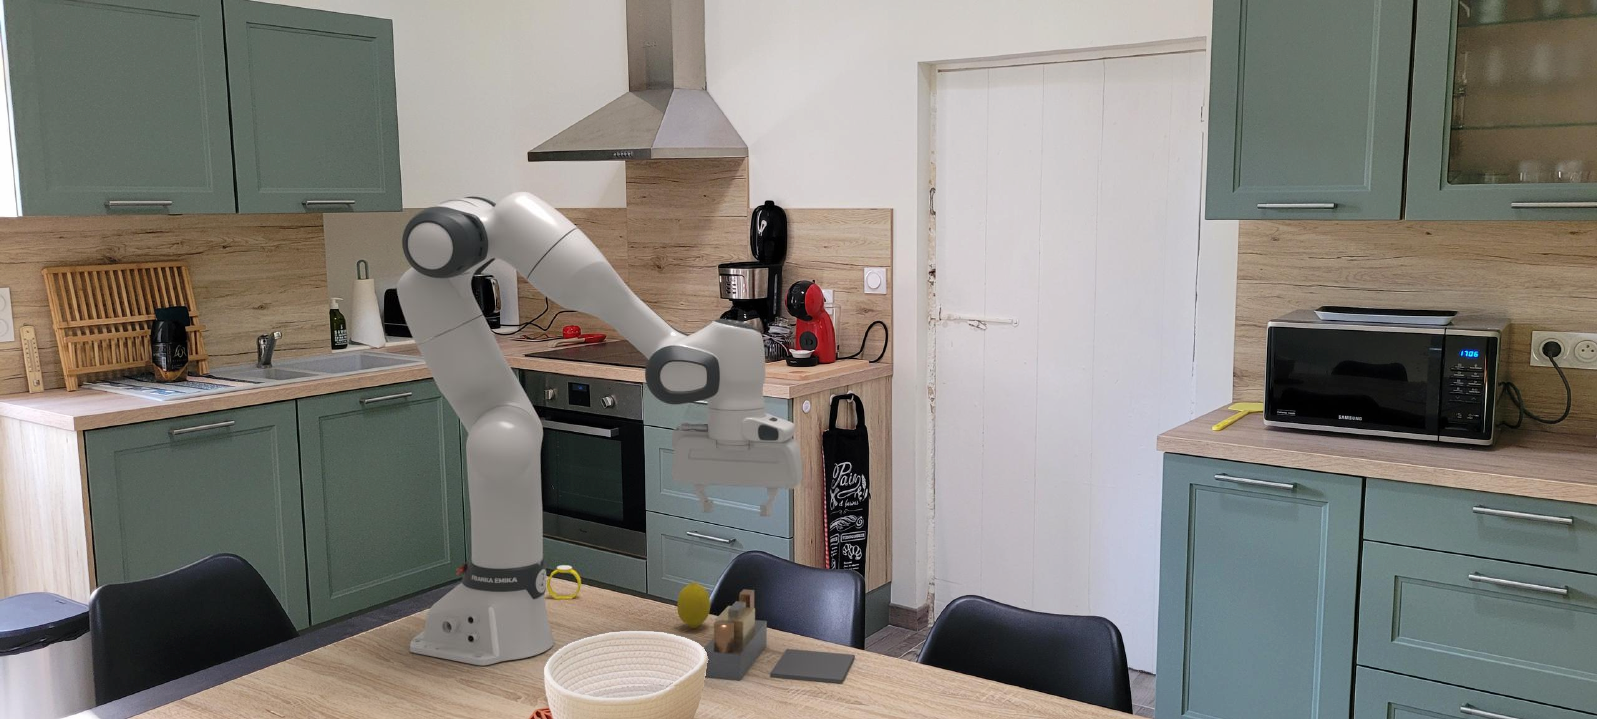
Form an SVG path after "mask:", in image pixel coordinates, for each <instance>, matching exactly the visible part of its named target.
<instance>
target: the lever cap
mask: <svg viewBox="0 0 1597 719" xmlns="http://www.w3.org/2000/svg"><path fill="white" fill-rule="evenodd" d="M721 620H727V621H732V622H733V623H734V643H737V644H744V642H745V641H746V640H747V639H748V637H749V636H750V635H751V634H752V632H753V631H754V630H755V620H756V607H754V608H749V607H746V602H739V600H738V601H737V600H735V602H734V603H733V604H732V605H727V607H726V608H724V610H723V611H722V612H721V613H720V614H719V615H718V616H717V617H716V618H715V622H716V621H721Z"/></svg>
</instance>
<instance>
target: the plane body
mask: <svg viewBox="0 0 1597 719" xmlns="http://www.w3.org/2000/svg"><path fill="white" fill-rule="evenodd" d="M738 598H739V599H738V601H739V602H746V607H749V608H755V590H754V589H745V588H744V589H742V590H741V591H740V592H739V593H738ZM767 624H768V622H767V620H761V619H755V630H754V631H753V632H752V634H751V635H750V636H749V637H748V639H747V640H746V641H745V642H744V644H737V643H734V623H733V622H732V621H727V620H721V621H716V620H715V622H713V638H712V639H711V640H710V641H709V642H708V643H707V644H706V646H704V648H703V649H705V651H706V652H707V656H708V659H709V660H708V663H707V669H706V677H705V678H710V679H711V678H712V679H719V680H720V679H722V680H729V681H730V680H731V681H732V680H733V681H741V680H742V678H743V677H744V676H745V674H746V673H747V671H748V670H749V669H750V668H751V666H752V665H753V664H754V662H755V661H756V660H757V658H759V656H760V654H761V653H762V651H763V650H764V649H765V647H766V646H767V637H768V636H767V627H768V626H767Z"/></svg>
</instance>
